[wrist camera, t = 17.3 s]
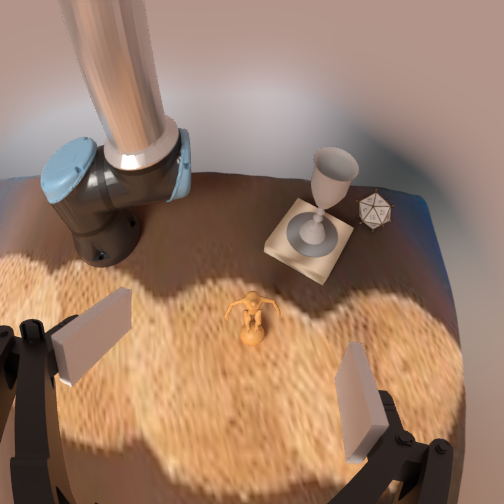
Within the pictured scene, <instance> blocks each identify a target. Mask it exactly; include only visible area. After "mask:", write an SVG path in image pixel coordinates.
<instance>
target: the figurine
mask: <svg viewBox="0 0 504 504" xmlns="http://www.w3.org/2000/svg"><path fill="white" fill-rule="evenodd" d="M262 302H267V303H272V304H273V305H274V307H275V309H276V310H277V311H278V314H277V316H278V317H279V316H280V310H279V308H278V306H277V305H276V302H275V300H273V299H269V298H265V297H262V296H260V295H259V294H258V293H257V292H255V291H250V292H248V293H247V294H246V296H245V297H243V298H241V299H239V300H236V301H233V302H231V303H230V305H229V308H228V310H227V312H226V314H225V320H227V318H228V314H229V313H230V311H231V309H232V307H233V305H238V304H242V303H243V304H245V306H246V308H247V309H248V310H244V311H243V313H244V322H245V325H244V326H243V327H242V328H241V331H240V337H241V339H242V341H243V342H244V343H245V344H247V345H250V346H255V345H258V344H259V343H261V342H262V340H263V339H264V329H263V327H262V326H261V325H260V324H261V320H262V317H261V313H262V310H261V309H259V308H260V305H261V303H262ZM254 314H255V317H254V318H255V320H256V321H255V322H250V321H251V315H254ZM228 319H229V318H228Z"/></svg>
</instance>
